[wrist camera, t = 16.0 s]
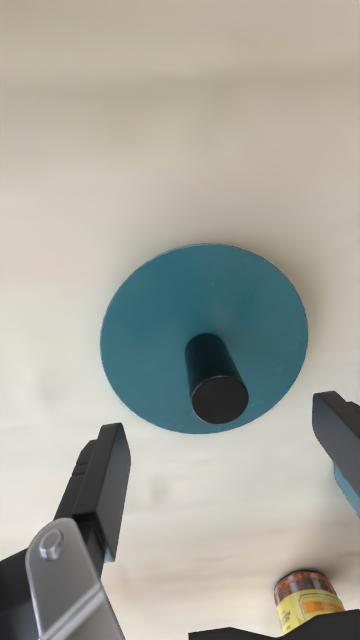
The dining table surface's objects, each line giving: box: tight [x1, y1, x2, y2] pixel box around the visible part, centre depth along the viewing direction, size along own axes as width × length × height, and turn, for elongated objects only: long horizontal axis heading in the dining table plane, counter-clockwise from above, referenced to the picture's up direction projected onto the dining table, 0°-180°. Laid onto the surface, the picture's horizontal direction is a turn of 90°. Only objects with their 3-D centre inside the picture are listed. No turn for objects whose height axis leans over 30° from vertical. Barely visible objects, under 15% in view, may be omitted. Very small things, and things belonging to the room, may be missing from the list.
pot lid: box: [100, 243, 308, 434], centre depth 14 cm, size 13×13×6 cm
